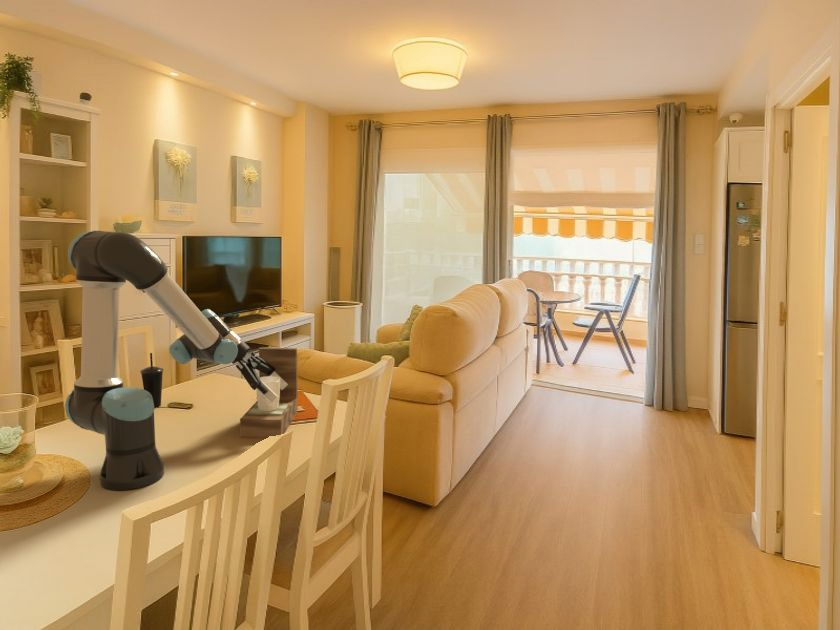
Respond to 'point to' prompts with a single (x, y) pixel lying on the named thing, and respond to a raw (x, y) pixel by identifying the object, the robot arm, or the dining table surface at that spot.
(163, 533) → the dining table surface
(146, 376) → the drinking cup
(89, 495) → the dining table surface
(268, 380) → the white cup
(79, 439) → the dining table surface
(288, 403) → the walnut shelf
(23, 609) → the dining table surface
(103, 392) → the robot arm
